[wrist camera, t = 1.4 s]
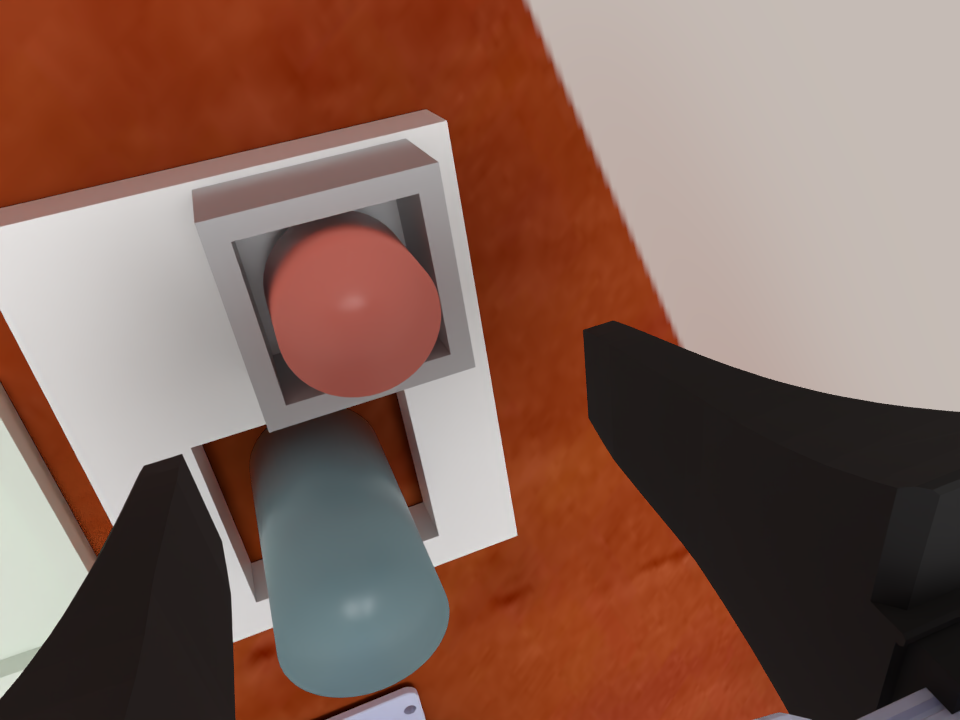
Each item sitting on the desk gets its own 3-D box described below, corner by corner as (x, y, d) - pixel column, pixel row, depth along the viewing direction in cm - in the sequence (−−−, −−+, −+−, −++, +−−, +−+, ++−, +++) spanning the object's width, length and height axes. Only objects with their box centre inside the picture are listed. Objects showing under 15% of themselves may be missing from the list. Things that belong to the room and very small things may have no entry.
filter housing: (498, 503, 30) (551, 591, 25) (182, 617, 27) (184, 737, 23) (425, 109, 22) (485, 141, 18) (-20, 212, 19) (-73, 279, 15)
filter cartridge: (391, 490, 28) (462, 657, 21) (270, 531, 27) (304, 721, 20) (364, 388, 25) (432, 538, 19) (231, 429, 24) (253, 604, 18)
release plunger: (422, 325, 21) (453, 370, 19) (286, 365, 20) (302, 417, 18) (394, 193, 19) (424, 223, 17) (243, 231, 18) (253, 269, 16)
